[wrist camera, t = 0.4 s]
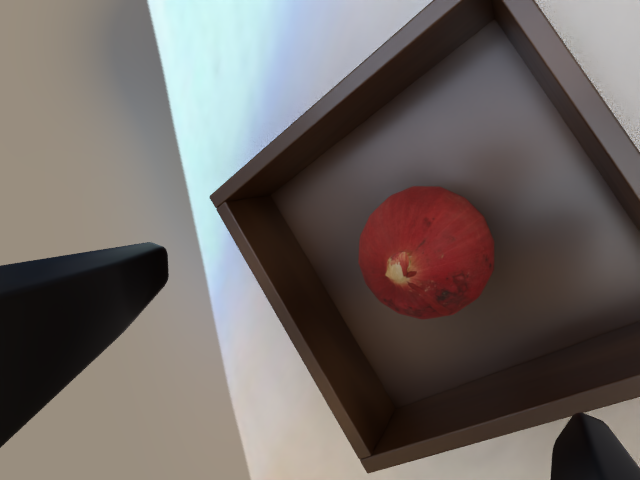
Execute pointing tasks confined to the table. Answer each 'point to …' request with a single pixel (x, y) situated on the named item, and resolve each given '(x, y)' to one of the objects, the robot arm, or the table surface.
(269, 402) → the table surface
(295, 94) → the table surface
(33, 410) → the robot arm
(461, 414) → the open wooden box
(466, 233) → the onion
